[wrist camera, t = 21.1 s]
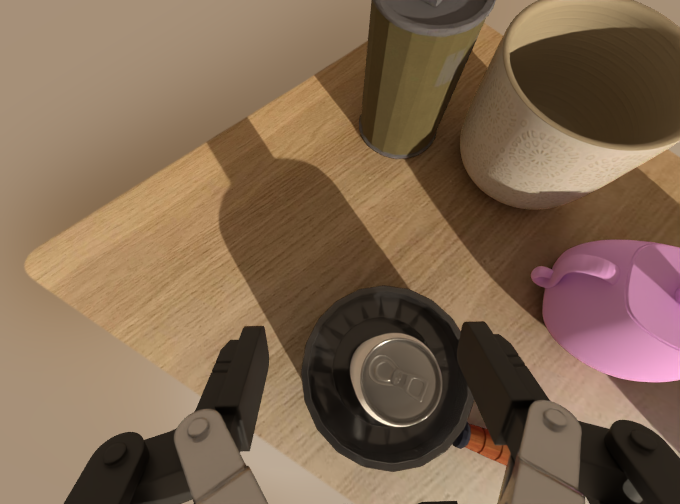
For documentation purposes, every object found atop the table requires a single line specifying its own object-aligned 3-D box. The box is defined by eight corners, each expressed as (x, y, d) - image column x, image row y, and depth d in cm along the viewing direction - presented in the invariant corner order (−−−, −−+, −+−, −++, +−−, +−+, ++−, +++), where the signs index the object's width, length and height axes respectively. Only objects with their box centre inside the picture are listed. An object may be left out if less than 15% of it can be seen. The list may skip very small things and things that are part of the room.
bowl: (448, 460, 31) (472, 486, 25) (296, 434, 32) (286, 453, 26) (455, 307, 36) (476, 298, 30) (321, 287, 36) (317, 275, 30)
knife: (695, 545, 30) (706, 493, 31) (729, 570, 28) (740, 512, 28) (441, 449, 32) (456, 399, 32) (450, 463, 29) (467, 409, 29)
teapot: (499, 332, 35) (575, 325, 23) (531, 229, 38) (611, 180, 27) (690, 419, 32) (879, 457, 21) (706, 300, 36) (875, 277, 24)
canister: (406, 173, 40) (465, 17, 21) (343, 130, 42) (345, -49, 23) (453, 118, 43) (543, -66, 24) (391, 80, 45) (428, -119, 26)
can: (365, 326, 34) (377, 315, 23) (420, 354, 33) (462, 357, 22) (338, 384, 33) (337, 403, 21) (396, 415, 32) (428, 452, 20)
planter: (589, 134, 42) (720, 21, 28) (565, 246, 38) (707, 181, 23) (465, 95, 44) (526, -30, 30) (428, 197, 39) (479, 108, 25)
